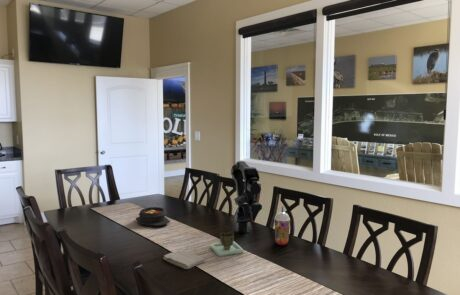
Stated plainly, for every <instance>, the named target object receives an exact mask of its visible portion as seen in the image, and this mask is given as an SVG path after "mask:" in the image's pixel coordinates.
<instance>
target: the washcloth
mask: <svg viewBox="0 0 460 295" xmlns="http://www.w3.org/2000/svg"><path fill="white" fill-rule="evenodd" d="M163 256H164V257H162V258H163V260H165V261H166V262H168V263H170V264H173V265H175V266H176V267H177V266H178V267H180V268H182V269H184V270H189V269H192V268H194V267H195V266H198V265H200V264H204V263H205V261H206V260H205V258H204V257H202V256H200V255H198V254H195V253H192V252H190V251H187V250H185V249H177V250H176V251H174V252H173V251H172V252H170V253H167V254H164V255H163Z"/></svg>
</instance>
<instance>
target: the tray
mask: <svg viewBox="0 0 460 295" xmlns="http://www.w3.org/2000/svg"><path fill="white" fill-rule="evenodd" d="M209 244H210V245H209V246H210V249H211V250H212V251H213V252H214V253H215V254H216V255H217V256H218V257H226V256H231V255H237V254H243V253H244V249H243V248H242V247H241V246H240V245H239V244H238V243H237V242H236V241H233V244H232V245H231V246H230V247H231V248H230V249H229V250H225V249H224V248H223V247H224V246H223V245H222V244H221V242H216V243H215V242H214V243H209Z"/></svg>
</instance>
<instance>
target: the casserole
mask: <svg viewBox="0 0 460 295" xmlns="http://www.w3.org/2000/svg"><path fill="white" fill-rule="evenodd" d="M166 214H167V211H166V210H165V209H164V208H163V207H155V206H153V207H152V206H151V207H145V208H142V209H141V210H140V211H139V213H138V217H136V218H135V220H136V222H137V223H138V224H140V225H145V226H148V227H149V226H151V227H152V226H155V227H159V226H163V225H164V226H165V225H168V224H169V223H171V221H170V219H168V218H167V217H166Z"/></svg>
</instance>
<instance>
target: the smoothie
mask: <svg viewBox="0 0 460 295" xmlns="http://www.w3.org/2000/svg"><path fill="white" fill-rule="evenodd" d="M273 218H274V219H273V220H274V234H275V236H274V237H275V238H274V239H275V240H274V241H275V242H276V245H279V246H285V245H286V246H287V244H288V242H289V238H290V237H289V236H290V235H289V234H290V226H291V218H290V216H289V214H288V213H287V212H285V211H284V206H281V211H279V212H278V213H276V215H275V217H273Z"/></svg>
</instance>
